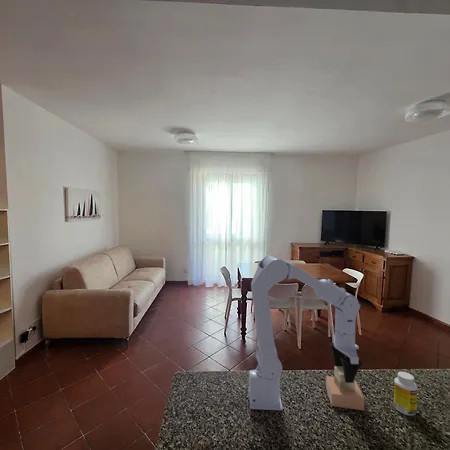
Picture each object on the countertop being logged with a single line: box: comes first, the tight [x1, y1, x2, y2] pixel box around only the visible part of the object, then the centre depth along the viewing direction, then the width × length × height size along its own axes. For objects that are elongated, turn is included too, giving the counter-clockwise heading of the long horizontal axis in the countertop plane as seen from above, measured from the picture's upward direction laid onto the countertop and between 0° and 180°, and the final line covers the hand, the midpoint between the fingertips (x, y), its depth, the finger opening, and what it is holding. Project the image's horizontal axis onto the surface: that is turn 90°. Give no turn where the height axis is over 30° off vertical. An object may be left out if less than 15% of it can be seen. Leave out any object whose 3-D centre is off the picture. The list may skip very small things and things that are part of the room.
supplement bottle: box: [393, 371, 418, 417], centre depth 75 cm, size 6×6×10 cm
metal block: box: [333, 365, 356, 391], centre depth 80 cm, size 4×4×5 cm
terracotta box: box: [325, 375, 365, 411], centre depth 80 cm, size 9×9×4 cm
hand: (344, 374), depth 80 cm, fingers open, 7 cm apart
